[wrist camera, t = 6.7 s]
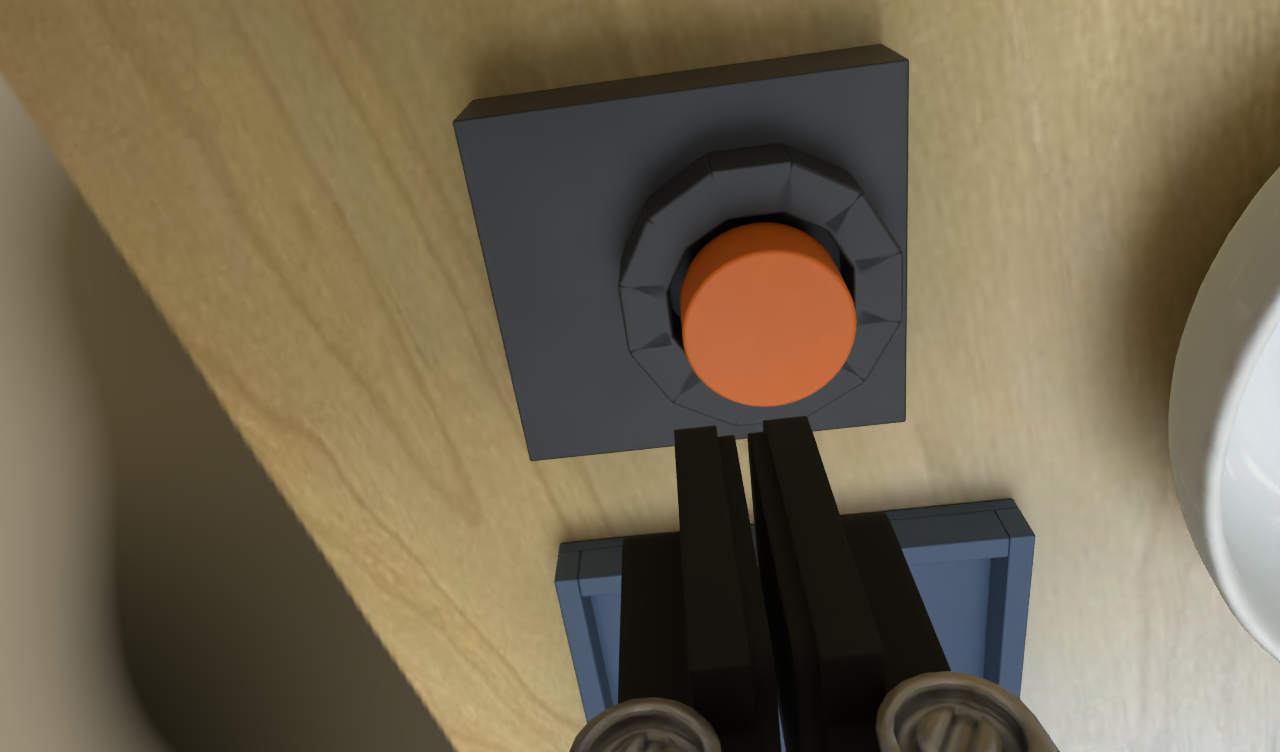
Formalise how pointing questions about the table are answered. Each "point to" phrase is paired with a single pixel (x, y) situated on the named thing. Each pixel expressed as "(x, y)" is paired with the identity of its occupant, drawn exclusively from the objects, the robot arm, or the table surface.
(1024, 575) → the tray
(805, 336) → the orange push button
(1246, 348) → the serving bowl
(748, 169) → the push button box
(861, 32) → the table surface
